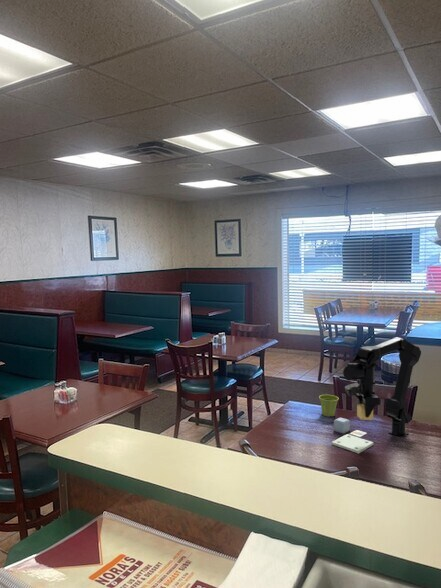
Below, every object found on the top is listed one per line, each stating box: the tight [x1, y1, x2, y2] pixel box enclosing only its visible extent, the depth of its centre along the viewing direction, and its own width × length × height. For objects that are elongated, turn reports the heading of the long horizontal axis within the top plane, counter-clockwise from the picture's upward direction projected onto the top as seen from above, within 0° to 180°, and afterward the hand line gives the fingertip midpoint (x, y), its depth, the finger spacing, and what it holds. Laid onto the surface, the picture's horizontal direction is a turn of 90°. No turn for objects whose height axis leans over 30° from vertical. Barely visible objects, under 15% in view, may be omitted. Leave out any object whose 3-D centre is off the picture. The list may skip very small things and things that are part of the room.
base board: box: [331, 433, 374, 455], centre depth 180 cm, size 12×12×1 cm
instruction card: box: [349, 429, 368, 438], centre depth 191 cm, size 6×5×1 cm
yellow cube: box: [356, 403, 374, 421], centre depth 181 cm, size 5×5×5 cm
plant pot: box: [318, 394, 340, 418], centre depth 214 cm, size 9×9×9 cm
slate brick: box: [333, 417, 351, 435], centre depth 194 cm, size 5×5×5 cm
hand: (364, 415), depth 181 cm, fingers closed on yellow cube, 5 cm apart
